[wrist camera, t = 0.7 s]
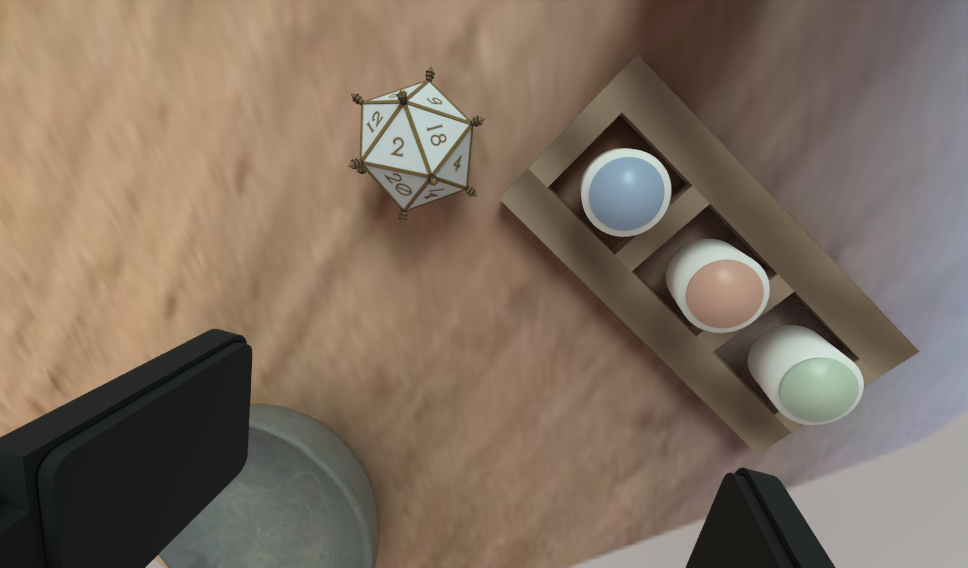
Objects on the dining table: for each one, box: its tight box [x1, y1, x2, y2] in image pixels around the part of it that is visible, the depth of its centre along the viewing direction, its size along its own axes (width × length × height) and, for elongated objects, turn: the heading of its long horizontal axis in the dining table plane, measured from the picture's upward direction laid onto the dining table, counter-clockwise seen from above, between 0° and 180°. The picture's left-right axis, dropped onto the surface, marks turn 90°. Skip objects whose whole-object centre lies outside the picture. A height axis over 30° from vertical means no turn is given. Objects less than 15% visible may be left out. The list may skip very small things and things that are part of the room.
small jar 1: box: [580, 148, 671, 237], centre depth 28 cm, size 5×5×4 cm
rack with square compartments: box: [499, 54, 919, 454], centre depth 32 cm, size 12×26×2 cm, turn 46°
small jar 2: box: [666, 238, 770, 333], centre depth 29 cm, size 5×5×4 cm
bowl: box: [158, 404, 378, 568], centre depth 41 cm, size 21×21×8 cm
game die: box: [348, 66, 485, 224], centre depth 30 cm, size 9×8×10 cm
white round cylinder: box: [748, 325, 864, 425], centre depth 29 cm, size 5×5×4 cm
